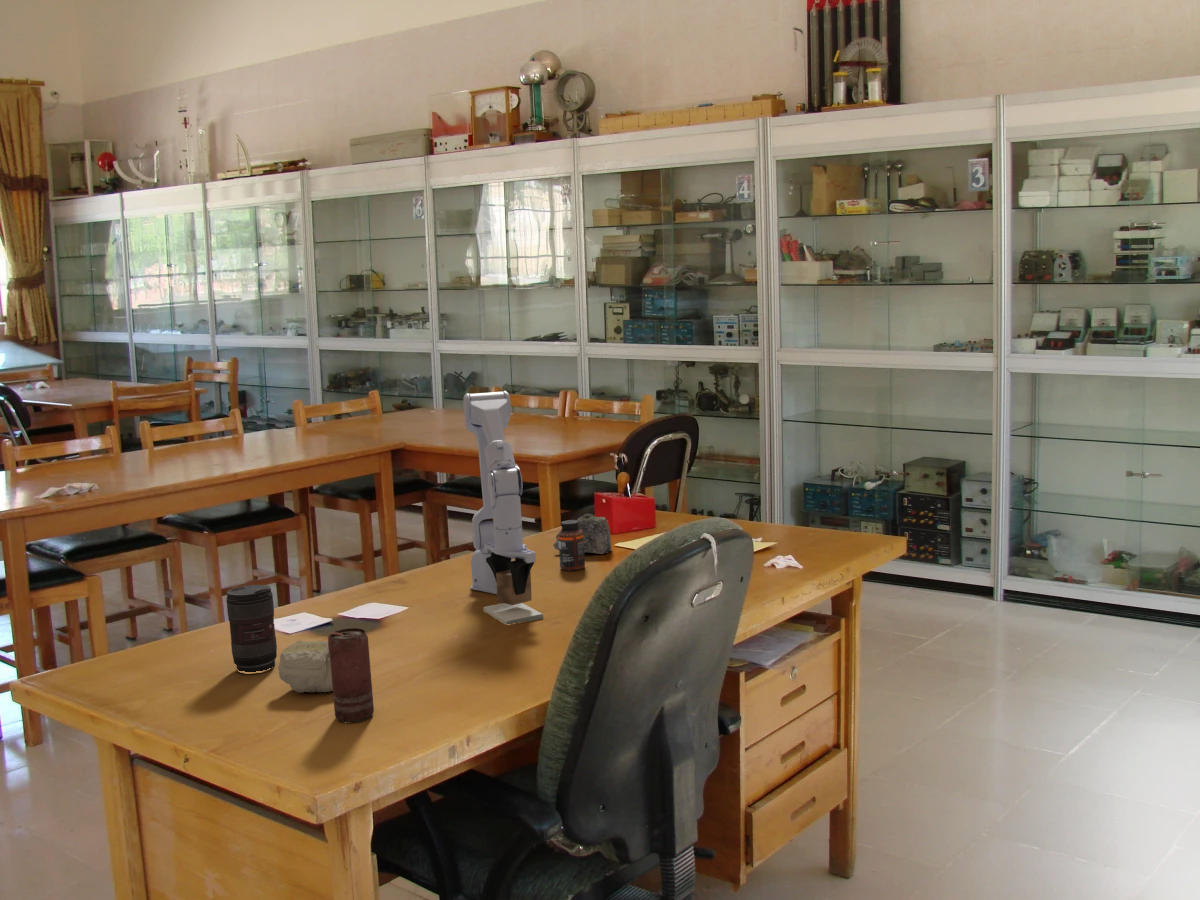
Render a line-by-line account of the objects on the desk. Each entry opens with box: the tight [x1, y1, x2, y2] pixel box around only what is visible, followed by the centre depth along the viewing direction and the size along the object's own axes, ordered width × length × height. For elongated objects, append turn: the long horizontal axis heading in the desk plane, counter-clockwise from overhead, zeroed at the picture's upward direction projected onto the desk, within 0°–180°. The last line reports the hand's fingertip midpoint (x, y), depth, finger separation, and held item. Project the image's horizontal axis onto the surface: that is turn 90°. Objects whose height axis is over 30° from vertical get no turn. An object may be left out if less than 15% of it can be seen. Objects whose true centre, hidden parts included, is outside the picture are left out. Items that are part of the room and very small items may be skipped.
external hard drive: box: [482, 602, 545, 626], centre depth 237 cm, size 2×8×12 cm
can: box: [327, 627, 375, 724], centre depth 184 cm, size 6×6×14 cm
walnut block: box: [496, 570, 533, 605], centre depth 237 cm, size 5×5×6 cm
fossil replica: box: [277, 640, 333, 694], centre depth 198 cm, size 12×8×10 cm
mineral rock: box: [553, 513, 612, 555], centre depth 287 cm, size 13×11×10 cm
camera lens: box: [225, 584, 278, 672], centre depth 210 cm, size 8×8×15 cm
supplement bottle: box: [557, 519, 586, 572], centre depth 271 cm, size 6×6×11 cm
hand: (511, 591), depth 237 cm, fingers closed on walnut block, 5 cm apart
